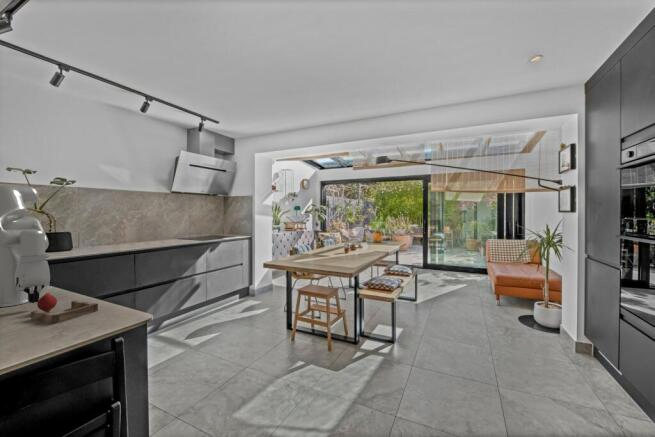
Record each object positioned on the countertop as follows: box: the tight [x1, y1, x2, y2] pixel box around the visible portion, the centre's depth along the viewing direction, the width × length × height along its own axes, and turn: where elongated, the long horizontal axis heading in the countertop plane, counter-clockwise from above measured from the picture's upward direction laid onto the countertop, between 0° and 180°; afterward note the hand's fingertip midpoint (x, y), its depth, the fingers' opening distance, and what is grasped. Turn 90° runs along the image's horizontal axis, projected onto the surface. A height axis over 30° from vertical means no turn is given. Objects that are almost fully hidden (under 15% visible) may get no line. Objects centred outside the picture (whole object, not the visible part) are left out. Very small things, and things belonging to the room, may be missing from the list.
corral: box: [30, 300, 99, 325], centre depth 116 cm, size 14×15×3 cm
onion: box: [36, 292, 58, 313], centre depth 120 cm, size 6×6×8 cm
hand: (33, 302), depth 122 cm, fingers closed
